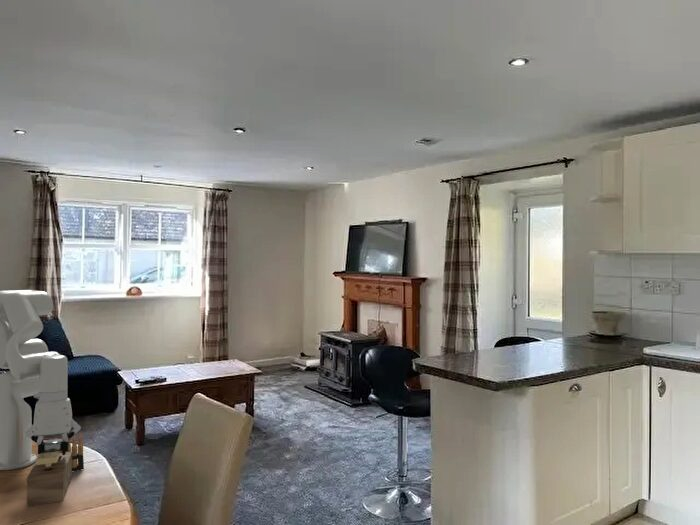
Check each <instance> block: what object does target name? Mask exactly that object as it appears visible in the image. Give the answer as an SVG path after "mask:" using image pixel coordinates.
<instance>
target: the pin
mask: <svg viewBox="0 0 700 525" xmlns="http://www.w3.org/2000/svg"><path fill="white" fill-rule="evenodd" d="M62 443H63V440H62V439H61V438H57V439H55V438H54V439H51V440H49V439H48V440H46V441H44V443H43V452H44V453H48V452H57V451H62ZM58 461H59V459H58Z"/></svg>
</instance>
